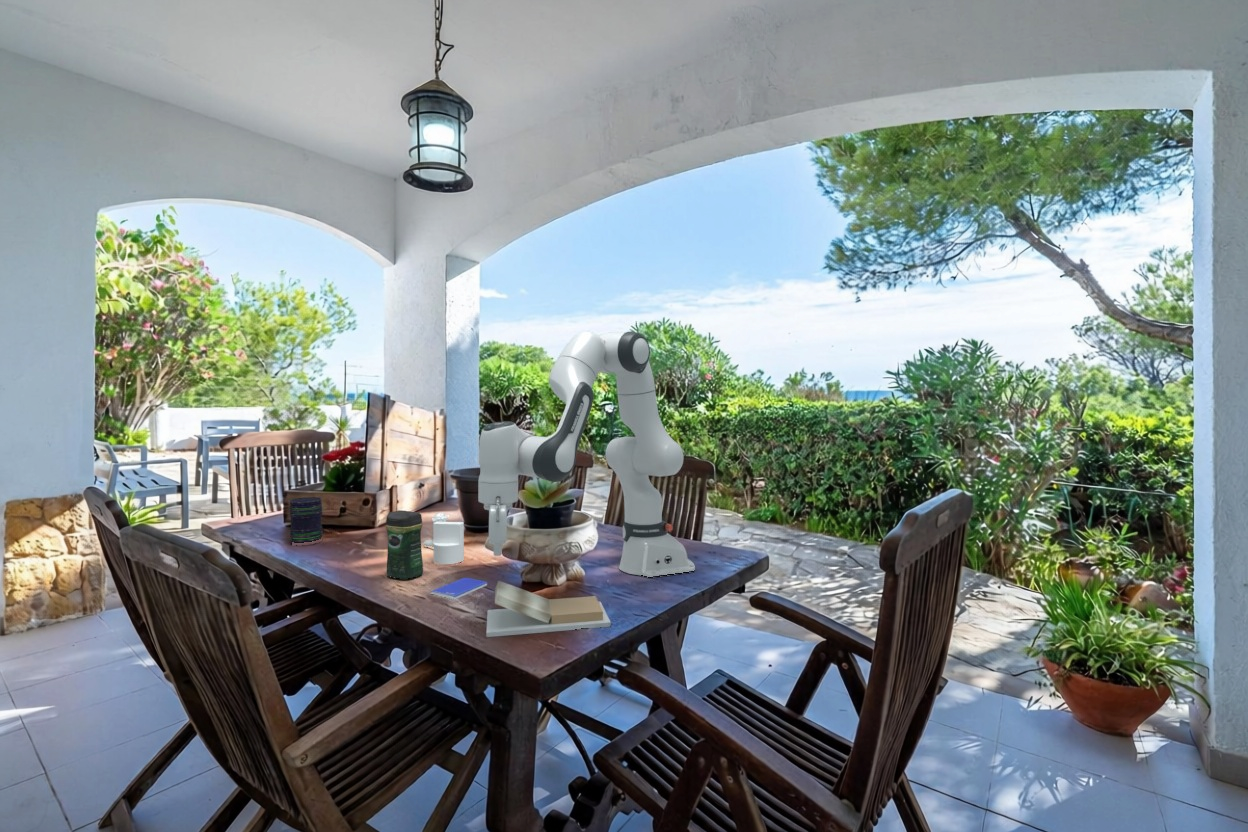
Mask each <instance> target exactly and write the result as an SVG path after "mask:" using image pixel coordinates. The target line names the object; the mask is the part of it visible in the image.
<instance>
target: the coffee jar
mask: <svg viewBox="0 0 1248 832" xmlns="http://www.w3.org/2000/svg"><path fill="white" fill-rule="evenodd" d="M385 528H386V533H387V554H386V555H387V556H386V557H387V558H386V559H387V560H386V576H387V577H388V576H391V577H395V578H394V579H396V578H400V579H399V580H409V579H408V578H410V579H414V578H413V577H416V578H418V577H420V576H421V575H422V574H423V573H424V565H423V563H424V562H423V561H424V560H423V553H422V551H423V550H422V540H421V536H422V528H423V517H422V513H421V512H417V511H409V510H395V511H390V512H388V514H387V515H386V520H385ZM419 575H420V576H419ZM417 576H418V577H417ZM391 577H390V578H391Z"/></svg>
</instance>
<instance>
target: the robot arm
mask: <svg viewBox="0 0 1248 832" xmlns="http://www.w3.org/2000/svg"><path fill="white" fill-rule="evenodd" d="M650 355H651V348H650V344H649V342H648V340H647V338H646V337H645V336H644V335H643V334H642V333H639V332H636V331H626V332H624V331H620V332H619V331H611V332H608V333H601V334H596V333H594V332H593V331H587V330H583V331H579V332H577V333H576V334H575V335H574V336H573V337H572V338H571V339H570V340H569V342H568V343H566V345H565V346H564V348H563V349H562V351H561V353H559V356H558V357H557V359H556V360H555V362H554V364H553V366H552V367H551V369H550V370H551V371H550V373H549V377H548V382H549V386H550V389H551V391H552V392H553V393H554V395H555V396H557V398H558V399H560V401H562V402H563V403H565V408H564V410H563V412H562V413H563V414H562V416H561V418H560V421H559V424H558V425H557V429H556V431H555V432H554V433H553V434H550V435H549V436H537V435H532V434H531V433H528V432H526V431H524V430H522V429H521V428H519V427H518V425H517V424H516V423H515V422H513V421H508V420H507V421H497V422H496V421H495V422H492V423H488V424H487V425H486V426H484V427H483V428H482V430H481V432H480V438H479V444H478V465H479V470H480V472H479V473H480V474H479V476H478V485H477V487H478V489H477V490H478V494H477V495H478V496H477V498H478V500H477V501H478V503H481V504H483V509H484V510H486V511H488V542H489V544H491V545H492V547H493V556H494V557H497V556H498V557H499V556H502V552H503V544H506V542H507V533H508V532H507V531H508V530H507V526H508V525H507V522H508V521H507V518H508V511H509V510H511V509H513V504H514V503H517V502H518V501H519V475H521V476H527V477H529V478H538V479H541V480H545V481H549V482H551V483H559V482H561V481H563V480H565V479H566V478H567V477H569V475H570V474H571V472H572V471H573V469H574V467H575V464H576V460H577V453H578V449H579V445H580V443H581V442H580V441H581V439H582V436H583V433H584V431H585V427H586V425H587V422H588V419H589V416H590V413H591V410H592V406H593V404H594V399H595V398H594V397H595V395H594V391H593V385H594V383H595V381H596V379H597V376H598V375H599V373H602V374H615V376H616V393H617V401H618V411H619V417H620V418H619V419H620V420H621V422H622V423H623V424H624V425H625V426H626V427H628V428H629V429H630V430H631V432H632V433H633V434H634V436H623V437H622V436H621V437H615V438H613V439H612V440H610V441H609V442H608V444H607V446H606V449H605V461H606V463H607V464H608V467H610V469H612V470H613V472H614V473H615V475H616V477H617V479H618V481H619V484H620V485H621V489H622V493H623V500H624V502H623V505H624V520H623V521H622V539H623V544H622V545H623V546H622V552H621V558H620V562H619V566H618V568H619V570H620V571H622V572H624V573H625V574H630V575H634V576H635V575H637V576H641V575H643V576H642V577H644V576H647V577H646V578H648V577H653V576H659V575H667V574H674V575H676V574H675V573H682V574H684V573H683V572H689V571H694V570H695V571H696V566H695V564H694V562H693V561H692V560H691V559H689V558H688V552H687V549H686V548H685V546H684V545H683V543H681V542H679V540H677V539H676V538H675V537H674V536H672V535H671V534H670V533H668V532H672V531H673V530H674V526H673V524H670V523H668V522H666V521H665V520H663V516H662V515H663V514H662V513H663V512H662V511H663V498H662V494H661V493H660V491H659V490H658V489H657V488H656V487H654V485H653V484H652V482H651V480H650V478H649V476H651V477H652V476H653V477H660V478H661V477H667V476H674V475H676V474H677V473H679V472H680V471H681V468H682V467H683V464H684V452H683V449H682V447H681V445H680V444H679V443H678V442H677V441H675V440H674V439H673V438H672V437H671V436H670V434H669V433H668V432H667V430H666V429H665V427H664V424H663V423H662V419H661V418H660V415H659V409H658V408H659V407H658V403H657V402H658V401H657V395H656V384H655V379H654V373H653V371H652V367H651V364H650ZM695 571H694V572H695ZM689 573H690V572H689ZM667 576H668V575H667ZM653 578H654V577H653Z"/></svg>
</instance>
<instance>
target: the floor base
mask: <svg viewBox="0 0 1248 832" xmlns="http://www.w3.org/2000/svg"><path fill="white" fill-rule="evenodd" d="M548 601H549V605H550V609H551V613H552V616H551V618H550V620H549V622H548V623H546V622H543V621H540V620H538V619H535V618H532V617H529V616H527V615H524V614H521V613H518V612H516V611H513V610H510V609H507V608H497V609H487V615H486V617H487V618H486V637H485V638H491V637H492V638H493V637H505V636H517V635H527V634H528V635H529V634H538V633H539V634H540V633H541V634H543V633H552V632H563V631H575V629H577V630H582V629H581V628H589V629H597V628H598V629H599V628H600V627H601V628H610V626H611V624H612V623H611V620H610V618H609V616H608V614H607V612H606V610H605V608H604V606H603V604H602V602H601V601H598V598H597V596H596V595H593V596H581V597H578V596H577V597H566V598H564V597H562V598H552V599H551V598H550V599H549V598H548ZM611 627H612V626H611Z"/></svg>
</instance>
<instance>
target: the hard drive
mask: <svg viewBox="0 0 1248 832" xmlns="http://www.w3.org/2000/svg"><path fill="white" fill-rule="evenodd" d="M486 586H488V581H485V580H480V579H474V578H470V577H462V578H461V579H458V580H456V581H453V582H450V583H448V584H446V585H443V586H440V587H438V588H434V589H432V590H431V591H430V595H431V594H435V595H438V596H437V597H440V596H442V597H441V598H444V597H446V599H449V598H450V600H453V599H454V601H455V600H457V599H460V598H461V597H464V596H467V595H468V594H471V593H473V592H475V591H477V590H479V589H481V588H484V587H486ZM435 595H434V596H435Z"/></svg>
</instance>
